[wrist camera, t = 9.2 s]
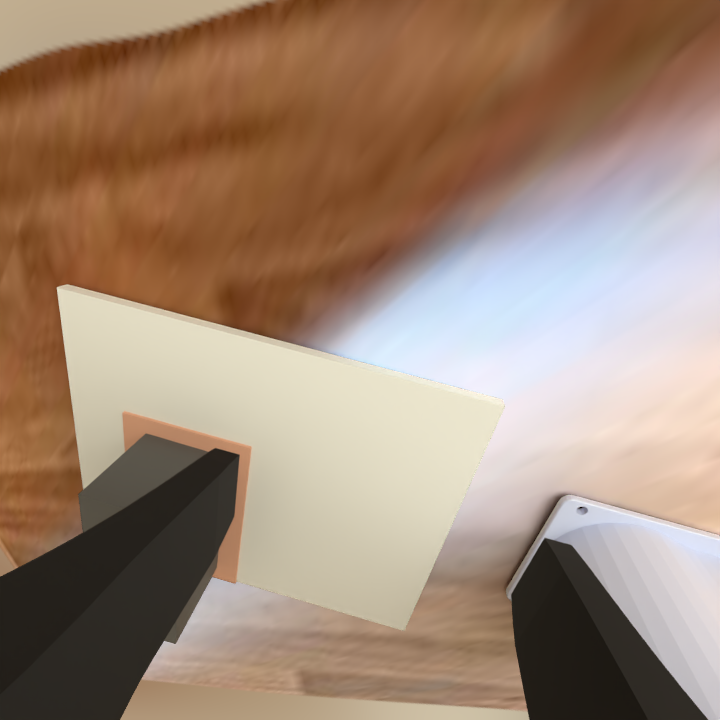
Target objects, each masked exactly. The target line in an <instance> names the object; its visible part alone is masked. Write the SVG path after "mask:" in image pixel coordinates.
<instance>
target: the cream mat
mask: <svg viewBox="0 0 720 720" xmlns="http://www.w3.org/2000/svg"><path fill="white" fill-rule="evenodd" d="M57 293H58V301H59V308H60V316H61V323H62V331H63V339H64V346H65V354H66V362H67V369H68V377H69V384H70V392H71V400H72V407H73V415H74V423H75V430H76V438H77V445H78V453H79V461H80V468H81V476H82V484H83V490H84V489H85V488H86V487H87V486H88V485H89V484H90V483H91V482H93V481H94V480H95V479H96V478H97V477H98V476H99V475H100V474H101V473H102V472H104V471H105V470H106V469H107V468H108V467H109V466H110V465H111V464H112V463H114V462H115V461H116V460H117V459H118V458H119V457H120V456H121V455H122V454H123V453H125V452H126V451H127V450H128V449H129V448H130V447H131V446H132V445H133V444H135V443H136V442H137V441H138V440H139V439H140V438H141V437H142V436H143V435H145V434H146V433H147V434H150V435H154V436H157V437H161V438H164V439H167V440H171V441H174V442H177V443H181V444H184V445H188V446H191V447H194V448H198V449H201V450H204V451H208V452H209V451H210V450H212V449H214V448H218V449H221V450H225V451H229V452H232V453H236V454H240V458H239V469H238V481H237V492H236V504H235V515H234V518H233V521H232V523H231V525H230V527H229V529H228V531H227V533H226V536H225V538H224V540H223V542H222V544H221V546H220V548H219V552H218V562H217V568H216V570H215V572H214V574H213V576H212V577H214V578H218V579H221V580H225V581H228V582H231V583H236V581H237V582H240V583H244V584H247V585H250V586H254V587H257V588H260V589H264V590H267V591H270V592H274V593H277V594H281V595H284V596H287V597H291V598H294V599H297V600H301V601H304V602H307V603H311V604H314V605H318V606H321V607H324V608H328V609H331V610H334V611H338V612H341V613H345V614H348V615H351V616H355V617H358V618H361V619H365V620H368V621H371V622H375V623H378V624H382V625H385V626H388V627H392V628H395V629H398V630H402V631H404V630H405V628H406V626H407V624H408V622H409V619H410V617H411V615H412V613H413V610H414V608H415V606H416V604H417V601H418V599H419V597H420V595H421V593H422V590H423V588H424V586H425V584H426V581H427V579H428V577H429V575H430V573H431V570H432V568H433V566H434V564H435V561H436V559H437V557H438V555H439V553H440V550H441V548H442V546H443V544H444V541H445V539H446V537H447V535H448V532H449V530H450V528H451V526H452V524H453V521H454V519H455V517H456V515H457V512H458V510H459V508H460V506H461V504H462V501H463V499H464V497H465V495H466V492H467V490H468V488H469V486H470V483H471V481H472V479H473V477H474V475H475V472H476V470H477V468H478V466H479V463H480V461H481V459H482V457H483V455H484V452H485V450H486V448H487V446H488V443H489V441H490V439H491V437H492V435H493V432H494V430H495V428H496V426H497V423H498V421H499V419H500V417H501V414H502V412H503V410H504V408H505V405H504V402H503V399H499V398H495V397H491V396H488V395H484V394H480V393H476V392H473V391H469V390H465V389H461V388H457V387H454V386H450V385H446V384H442V383H439V382H435V381H431V380H427V379H423V378H420V377H416V376H412V375H408V374H405V373H401V372H397V371H393V370H389V369H386V368H382V367H378V366H374V365H371V364H367V363H363V362H359V361H355V360H352V359H348V358H344V357H340V356H337V355H333V354H329V353H325V352H321V351H318V350H314V349H310V348H306V347H303V346H299V345H295V344H291V343H287V342H284V341H280V340H276V339H272V338H269V337H265V336H261V335H257V334H253V333H250V332H246V331H242V330H238V329H235V328H231V327H227V326H223V325H219V324H216V323H212V322H208V321H204V320H201V319H197V318H193V317H189V316H185V315H182V314H178V313H174V312H170V311H167V310H163V309H159V308H155V307H151V306H148V305H144V304H140V303H136V302H133V301H129V300H125V299H121V298H117V297H114V296H110V295H106V294H102V293H99V292H95V291H91V290H87V289H83V288H80V287H76V286H72V285H68V284H67V285H63V286H60V287H57Z"/></svg>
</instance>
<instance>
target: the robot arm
mask: <svg viewBox="0 0 720 720" xmlns="http://www.w3.org/2000/svg"><path fill="white" fill-rule="evenodd" d="M239 458H240V454H236V453H232V452H229V451H225V450H221V449H218V448H214V449H212V450H210V451H209V452H208V453H206V454H205V455H203V456H202V457H200V458H199V459H197V460H196V461H194V462H193V463H192V464H190V465H189V466H187V467H186V468H184V469H183V470H181V471H180V472H178V473H177V474H176V475H174V476H173V477H171V478H170V479H168V480H167V481H165V482H164V483H162V484H161V485H159V486H158V487H156V488H155V489H153V490H151V491H150V492H148V493H147V494H145V495H144V496H142V497H141V498H139V499H137V500H136V501H134V502H133V503H131V504H130V505H128V506H127V507H125V508H123V509H122V510H120V511H119V512H117V513H115V514H114V515H112V516H110V517H108V518H107V519H105V520H103V521H102V522H100V523H98V524H97V525H95V526H93V527H92V528H90V529H88V530H86V531H85V532H83V533H81V534H80V535H78V536H76V537H75V538H73V539H71V540H69V541H67V542H66V543H64V544H62V545H60V546H58V547H56V548H55V549H53V550H51V551H49V552H47V553H45V554H44V555H42V556H40V557H38V558H36V559H34V560H32V561H30V562H28V563H26V564H24V565H22V566H20V567H18V568H17V569H15V570H13V571H11V572H9V573H7V574H5V575H3V576H1V577H0V720H120V718H121V717H122V715H123V713H124V711H125V709H126V707H127V705H128V703H129V701H130V699H131V697H132V695H133V693H134V691H135V689H136V688H137V686H138V684H139V682H140V680H141V679H142V677H143V675H144V673H145V672H146V670H147V668H148V666H149V665H150V663H151V661H152V659H153V658H154V656H155V655H156V653H157V651H158V650H159V648H160V646H161V645H162V643H163V642H164V640H165V638H166V637H167V635H168V633H169V632H170V630H171V629H172V627H173V625H174V624H175V622H176V620H177V619H178V617H179V616H180V614H181V612H182V611H183V609H184V607H185V606H186V604H187V603H188V601H189V599H190V598H191V596H192V594H193V593H194V591H195V590H196V588H197V586H198V585H199V583H200V581H201V580H202V578H203V576H204V575H205V573H206V572H207V570H208V568H209V567H210V565H211V563H212V562H213V560H214V558H215V556H216V554H217V552H218V550H219V548H220V546H221V544H222V542H223V540H224V538H225V536H226V533H227V531H228V529H229V527H230V525H231V523H232V521H233V518H234V515H235V504H236V492H237V481H238V469H239ZM578 507H583V508H581V509H577V508H578ZM506 594H507V598H508V599H509V600H511V601H512V615H513V627H514V638H515V647H516V652H517V658H518V663H519V668H520V673H521V679H522V684H523V689H524V694H525V699H526V704H527V709H528V714H529V719H530V720H720V535H717V534H713V533H710V532H706V531H702V530H699V529H695V528H691V527H688V526H684V525H680V524H677V523H673V522H670V521H666V520H662V519H659V518H655V517H651V516H648V515H644V514H640V513H637V512H633V511H629V510H626V509H622V508H618V507H615V506H611V505H608V504H604V503H600V502H597V501H593V500H589V499H586V498H582V497H578V496H575V495H565V496H563V497H562V498H561V499H560V500H559V501H558V503H557V505H556V506H555V508H554V510H553V511H552V513H551V515H550V516H549V518H548V520H547V521H546V523H545V525H544V526H543V528H542V530H541V531H540V533H539V535H538V536H537V538H536V540H535V541H534V543H533V545H532V546H531V548H530V550H529V551H528V553H527V555H526V557H525V558H524V560H523V562H522V563H521V565H520V567H519V568H518V570H517V572H516V573H515V575H514V577H513V578H512V580H511V582H510V583H509V585H508V587H507V588H506Z"/></svg>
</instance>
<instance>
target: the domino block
mask: <svg viewBox="0 0 720 720" xmlns="http://www.w3.org/2000/svg"><path fill="white" fill-rule="evenodd" d="M206 453H208V451H204V450H201V449H198V448H194V447H191V446H188V445H184V444H181V443H177V442H174V441H171V440H167V439H164V438H161V437H157V436H154V435H150V434H147V433H146V434H145V435H143V436H142V437H141V438H140V439H139V440H138V441H137V442H136V443H135V444H133V445H132V446H131V447H130V448H129V449H128V450H127V451H126V452H125V453H123V454H122V455H121V456H120V457H119V458H118V459H117V460H116V461H115V462H114V463H112V464H111V465H110V466H109V467H108V468H107V469H106V470H105V471H104V472H102V473H101V474H100V475H99V476H98V477H97V478H96V479H95V480H94V481H93V482H91V483H90V484H89V485H88V486H87V487H86V488H85V489H84V490H83V491H81V492H80V493H79V494H78V495H79V504H80V512H81V521H82V529H83V532H85V531H86V530H88V529H90V528H92V527H93V526H95V525H97V524H98V523H100V522H102V521H103V520H105V519H107V518H108V517H110V516H112V515H114V514H115V513H117V512H119V511H120V510H122V509H123V508H125V507H127V506H128V505H130V504H131V503H133V502H134V501H136V500H137V499H139V498H141V497H142V496H144V495H145V494H147V493H148V492H150V491H151V490H153V489H155V488H156V487H158V486H159V485H161V484H162V483H164V482H165V481H167V480H168V479H170V478H171V477H173V476H174V475H176V474H177V473H178V472H180V471H181V470H183V469H184V468H186V467H187V466H189V465H190V464H192V463H193V462H194V461H196V460H197V459H199V458H200V457H202V456H203V455H205V454H206ZM218 552H219V550H218ZM218 552H217V554H216V556H215V558H214V560H213V562H212V563H211V565H210V567H209V568H208V570H207V572H206V573H205V575H204V576H203V578H202V580H201V581H200V583H199V585H198V586H197V588H196V590H195V591H194V593H193V594H192V596H191V598H190V599H189V601H188V603H187V604H186V606H185V607H184V609H183V611H182V612H181V614H180V616H179V617H178V619H177V620H176V622H175V624H174V625H173V627H172V629H171V630H170V632H169V633H168V635H167V637H166V638H165V640H164V641H167V642H171V643H174V644H176V642H177V640H178V638H179V637H180V635H181V633H182V631H183V629H184V627H185V626H186V624H187V622H188V620H189V618H190V616H191V615H192V613H193V611H194V609H195V607H196V605H197V603H198V602H199V600H200V598H201V596H202V594H203V592H204V591H205V589H206V587H207V585H208V583H209V581H210V579H211V578H212V576H213V574H214V572H215V570H216V568H217V562H218Z"/></svg>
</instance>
